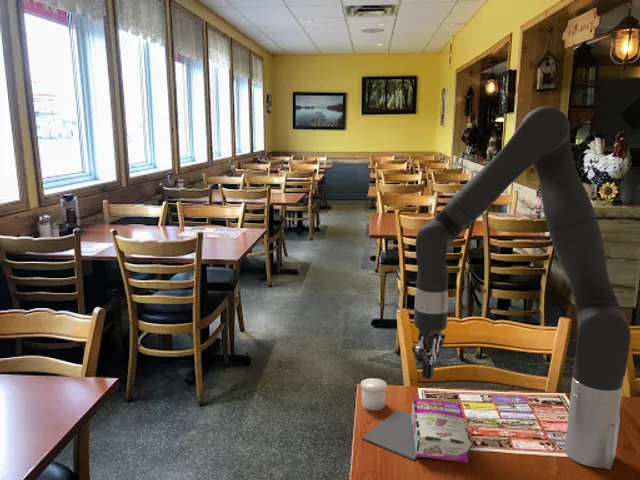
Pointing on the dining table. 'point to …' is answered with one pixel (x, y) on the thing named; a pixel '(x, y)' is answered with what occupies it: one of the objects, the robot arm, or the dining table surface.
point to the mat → (394, 434)
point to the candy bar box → (440, 430)
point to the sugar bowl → (373, 394)
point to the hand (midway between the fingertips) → (427, 377)
